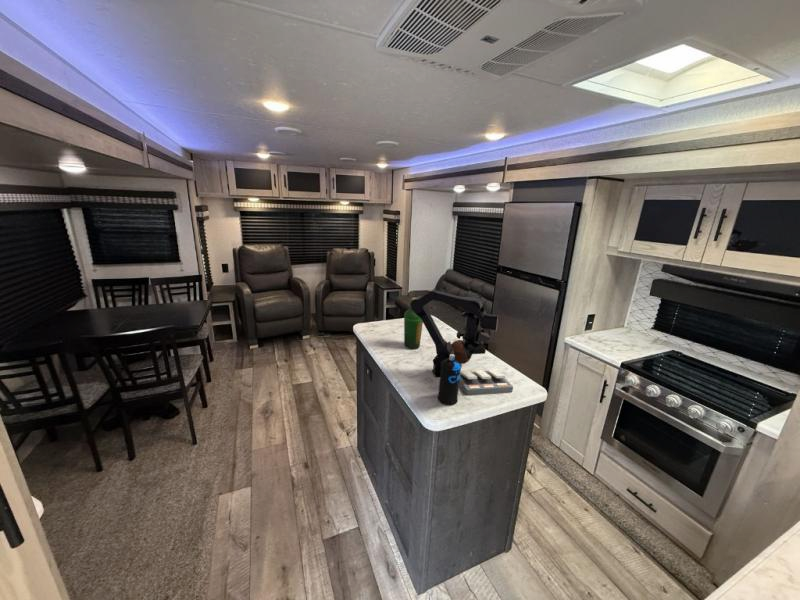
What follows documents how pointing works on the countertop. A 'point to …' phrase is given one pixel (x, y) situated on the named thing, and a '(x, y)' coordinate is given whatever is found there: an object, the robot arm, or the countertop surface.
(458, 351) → the muffin
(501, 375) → the rocker
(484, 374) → the rocker
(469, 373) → the rocker
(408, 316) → the bottle
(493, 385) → the switch unit
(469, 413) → the countertop surface
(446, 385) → the aerosol can
